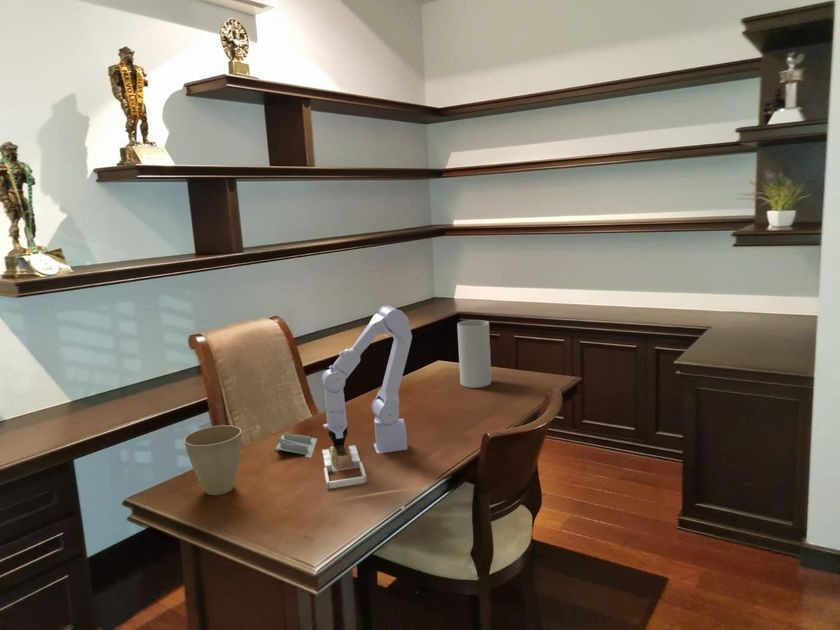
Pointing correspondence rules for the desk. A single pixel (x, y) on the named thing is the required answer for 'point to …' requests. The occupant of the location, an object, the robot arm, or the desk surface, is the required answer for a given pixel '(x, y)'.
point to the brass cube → (333, 453)
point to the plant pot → (215, 457)
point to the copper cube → (344, 459)
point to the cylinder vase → (474, 353)
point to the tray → (346, 481)
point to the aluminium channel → (335, 467)
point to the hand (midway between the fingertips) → (339, 452)
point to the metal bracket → (296, 444)
